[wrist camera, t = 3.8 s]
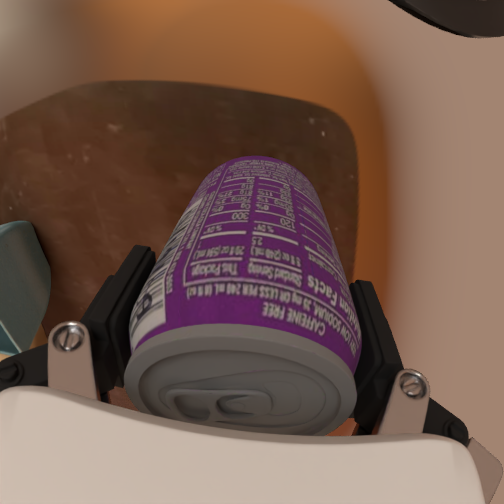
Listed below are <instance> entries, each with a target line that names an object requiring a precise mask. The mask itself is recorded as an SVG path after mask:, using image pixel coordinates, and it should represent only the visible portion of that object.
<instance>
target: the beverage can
mask: <svg viewBox="0 0 504 504" xmlns="http://www.w3.org/2000/svg"><path fill="white" fill-rule="evenodd" d="M129 342H130V349H131V358H130V360H129V362H128V365H127V367H126V370H125V373H124V385H125V389H126V392H127V394H128V396H129V398H130V400H131V401H132V403H133V404H134V405H135V407H136V408H137V409H138V410H139V411H140V412H141V413H145V414H149V415H153V416H158V417H162V418H167V419H172V420H176V421H181V422H187V423H192V424H198V425H204V426H210V427H216V428H223V429H231V430H239V431H247V432H257V433H268V434H282V435H301V436H325V435H327V434H328V433H330V432H332V431H333V430H335V429H336V428H338V427H339V426H340V425H342V424H343V423H344V422H345V421H346V420H347V418H348V417H349V416H350V415H351V413H352V412H353V410H354V407H355V405H356V401H357V392H356V386H355V381H354V377H353V376H354V373H355V371H356V368H357V365H358V362H359V358H360V354H361V347H362V337H361V330H360V325H359V321H358V317H357V314H356V310H355V307H354V303H353V300H352V297H351V293H350V290H349V287H348V283H347V280H346V277H345V274H344V271H343V267H342V264H341V261H340V258H339V255H338V252H337V249H336V246H335V243H334V240H333V237H332V234H331V231H330V228H329V225H328V223H327V220H326V217H325V214H324V211H323V208H322V206H321V203H320V200H319V198H318V195H317V193H316V191H315V189H314V187H313V186H312V184H311V183H310V181H309V180H308V179H307V178H306V177H305V176H304V175H303V174H302V173H301V172H300V171H299V170H297V169H296V168H295V167H293V166H291V165H290V164H288V163H286V162H283V161H281V160H278V159H275V158H271V157H266V156H246V157H240V158H236V159H233V160H230V161H228V162H226V163H224V164H222V165H220V166H218V167H217V168H216V169H214V170H213V171H212V172H211V173H209V175H208V176H207V177H206V178H205V179H204V180H203V181H202V183H201V184H200V186H199V188H198V189H197V191H196V193H195V194H194V196H193V198H192V199H191V201H190V203H189V205H188V206H187V208H186V210H185V211H184V213H183V215H182V217H181V218H180V220H179V222H178V224H177V225H176V227H175V229H174V231H173V233H172V234H171V236H170V238H169V240H168V242H167V243H166V245H165V247H164V249H163V251H162V253H161V255H160V256H159V258H158V260H157V262H156V264H155V266H154V268H153V270H152V272H151V273H150V275H149V277H148V279H147V281H146V283H145V285H144V287H143V289H142V291H141V293H140V295H139V297H138V299H137V301H136V303H135V305H134V308H133V311H132V314H131V317H130V322H129Z"/></svg>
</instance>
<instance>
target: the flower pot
mask: <svg viewBox="0 0 504 504" xmlns="http://www.w3.org/2000/svg"><path fill="white" fill-rule="evenodd" d="M50 290H51V270H50V266H49V264H48V262H47V260H46V258H45V255H44V253H43V251H42V249H41V246H40V244H39V241H38V239H37V236H36V234H35V231H34V228H33V226H32V224H31V223H30V222H28V221H15V222H11V223H7V224H3V225H0V354H4V355H8V356H13V355H16V354H19V353H21V352H24V351H27V350H29V349H30V346H31V344H32V342H33V339H34V337H35V335H36V333H37V331H38V329H39V326H40V324H41V322H42V320H43V317H44V315H45V313H46V310H47V307H48V303H49V298H50Z"/></svg>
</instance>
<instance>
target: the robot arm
mask: <svg viewBox="0 0 504 504" xmlns="http://www.w3.org/2000/svg"><path fill="white" fill-rule="evenodd" d="M155 264H156V258H155V252H153V251H151V248H150V247H147V246H141V245H135V246H134V247H133V249H132V250H131V252H130V253H129V254H128V256H127V257H126V259H125V260H124V262H123V263H122V265H121V266H120V268H119V270H118V271H117V273H116V274H115V276H114V275H110V276H109V277H108V278H107V279H106V281H105V282H104V284H103V285H102V287H101V288H100V290H99V292H98V293H97V295H96V296H95V298H94V299H93V301H92V303H91V304H90V306H89V307H88V309H87V311H86V312H85V314H84V316H83V317H82V319H81V320H80V322H77V321H66V322H62V323H60V324H58V325H56V326H55V327H54V328H53V329H52V331H51V332H50V334H49V338H48V343H46V344H43V345H41V346H38V347H35V348H32V349H30V350H27V351H24V352H21V353H19V354H16V355H13V356H10V357H8V358H5V359H3V360H1V361H0V504H489V503H490V502H491V500H492V498H493V496H494V494H495V491H496V489H497V487H498V485H499V483H500V480H501V478H502V475H503V468H502V465H501V463H500V462H499V460H498V459H496V458H495V457H494V456H493V455H492V454H491V453H490V452H489V451H487V450H486V449H485V448H484V447H483V446H482V445H481V444H480V443H478V442H477V441H476V440H475V439H474V438H473V437H472V438H470V439H469V438H468V430H467V427H466V426H465V424H464V423H463V422H462V421H461V420H460V419H459V418H457V417H456V416H455V415H453V414H452V413H450V412H449V411H448V410H446V409H445V408H444V407H442V406H441V405H440V404H438V403H437V402H436V401H434V400H433V399H431V398H430V397H429V396H430V385H429V382H428V381H427V379H426V377H424V376H423V375H422V374H421V373H420V372H418V371H416V370H413V369H404V368H403V365H402V361H401V358H400V355H399V352H398V349H397V346H396V344H395V341H394V338H393V335H392V332H391V329H390V327H389V324H388V321H387V319H386V318H385V316H384V313H383V310H382V308H381V305H380V302H379V300H378V297H377V295H376V292H375V290H374V287H373V285H372V283H371V282H370V281H363V280H356V281H355V283H351V284H350V286H349V290H350V293H351V297H352V300H353V303H354V307H355V310H356V314H357V317H358V321H359V325H360V330H361V337H362V347H361V354H360V358H359V362H358V365H357V368H356V371H355V373H354V376H353V377H354V381H355V386H356V392H357V401H356V405H355V407H354V410H353V412H352V413H351V415H350V416H349V417H348V418H354V419H355V422H356V423H357V424H356V426H355V428H354V431H353V433H352V435H351V436H301V435H282V434H268V433H257V432H247V431H239V430H231V429H223V428H216V427H210V426H204V425H198V424H192V423H187V422H181V421H176V420H172V419H167V418H162V417H158V416H153V415H149V414H145V413H141V412H137V411H133V410H130V409H126V408H122V407H118V406H115V405H112V404H111V399H110V394H109V391H110V390H112V389H114V386H117V387H121V388H123V387H124V373H125V370H126V367H127V365H128V362H129V360H130V358H131V349H130V342H129V322H130V317H131V314H132V311H133V308H134V305H135V303H136V301H137V299H138V297H139V295H140V293H141V291H142V289H143V287H144V285H145V283H146V281H147V279H148V277H149V275H150V273H151V272H152V270H153V268H154V266H155Z"/></svg>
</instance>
